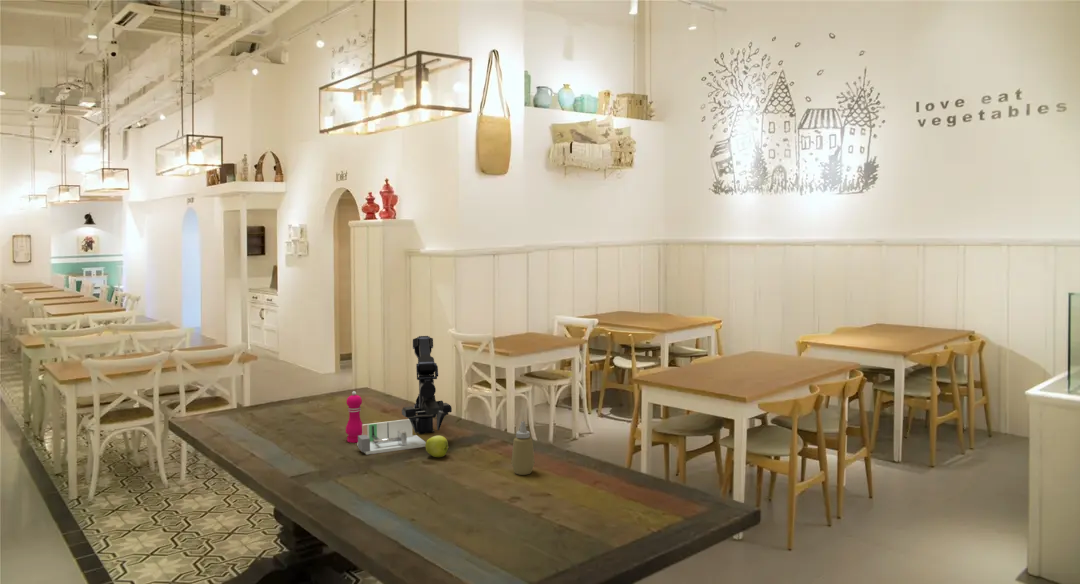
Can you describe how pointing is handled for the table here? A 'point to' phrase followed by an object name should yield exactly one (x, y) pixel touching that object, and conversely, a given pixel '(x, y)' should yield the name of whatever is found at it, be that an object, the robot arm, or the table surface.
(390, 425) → the gauge base
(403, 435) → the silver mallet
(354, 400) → the pepper mill
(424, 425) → the robot arm
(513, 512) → the table surface
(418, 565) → the table surface
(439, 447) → the apple
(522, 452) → the squeeze bottle
